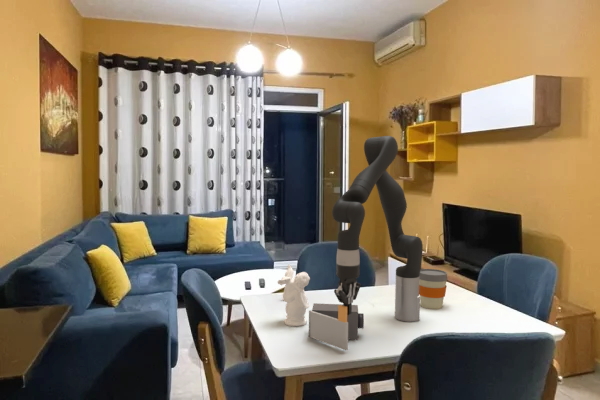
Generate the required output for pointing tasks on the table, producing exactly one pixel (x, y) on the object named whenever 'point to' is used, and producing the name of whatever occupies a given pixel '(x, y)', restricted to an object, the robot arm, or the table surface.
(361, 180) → the robot arm
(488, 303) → the table surface
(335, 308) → the camera housing
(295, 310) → the cherub figurine
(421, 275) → the reusable coffee cup
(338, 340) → the door
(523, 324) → the table surface
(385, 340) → the table surface
